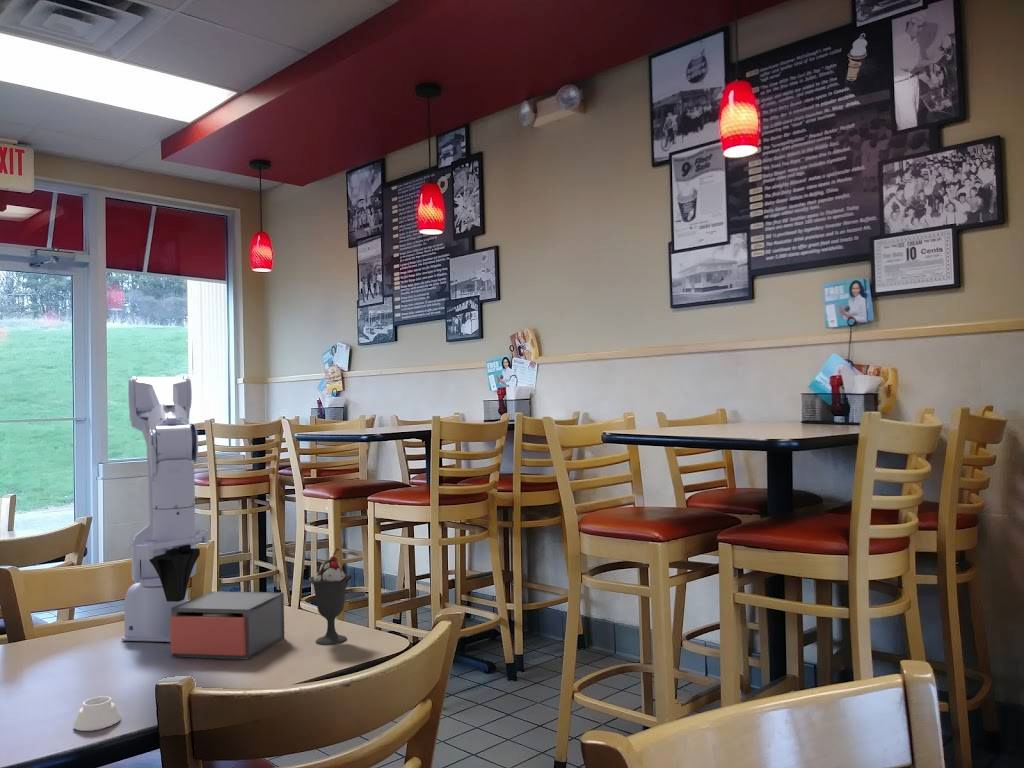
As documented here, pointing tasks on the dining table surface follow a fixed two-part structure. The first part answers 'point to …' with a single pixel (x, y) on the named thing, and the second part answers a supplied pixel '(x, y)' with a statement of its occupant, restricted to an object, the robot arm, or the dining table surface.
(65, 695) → the dining table surface
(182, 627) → the red drawer
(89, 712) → the white jar
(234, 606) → the housing
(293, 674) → the dining table surface
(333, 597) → the sundae
